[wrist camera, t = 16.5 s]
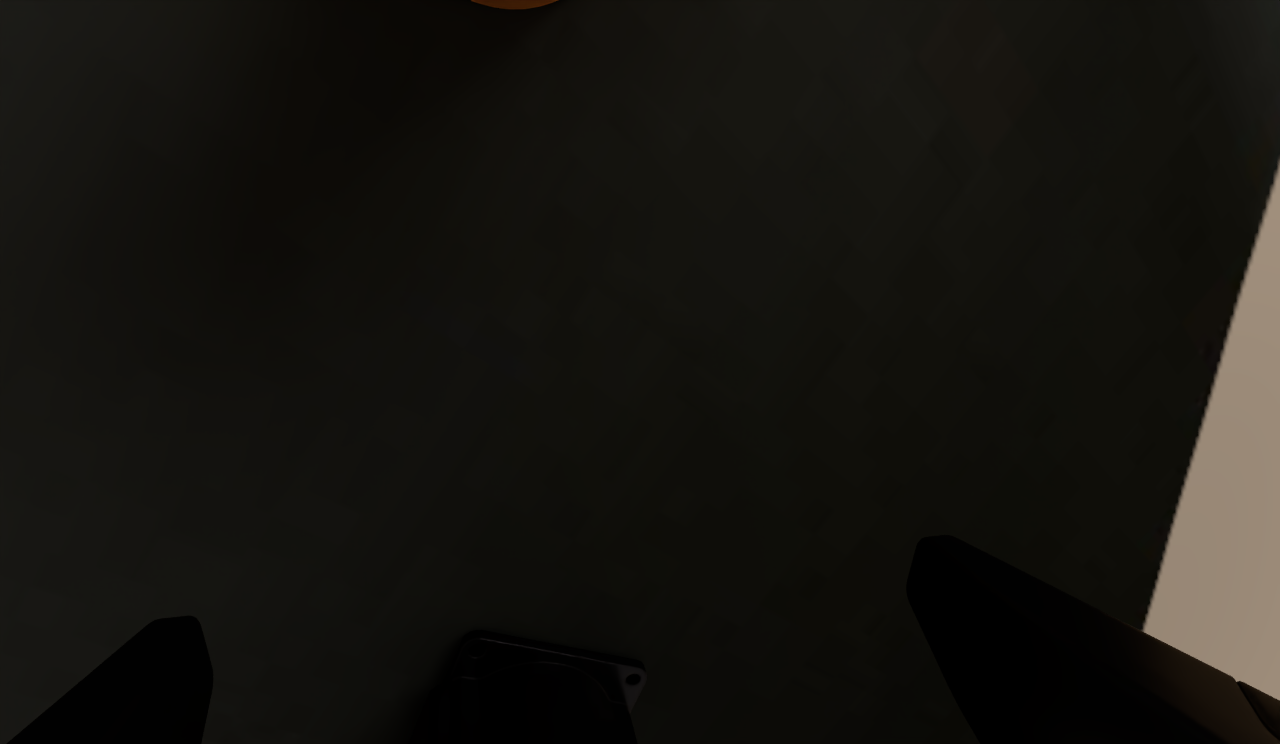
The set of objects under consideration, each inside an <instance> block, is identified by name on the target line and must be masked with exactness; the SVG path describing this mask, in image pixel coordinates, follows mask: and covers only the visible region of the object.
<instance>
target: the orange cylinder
mask: <svg viewBox="0 0 1280 744" xmlns="http://www.w3.org/2000/svg"><path fill="white" fill-rule="evenodd" d="M471 1H474V2H476V3H479V4H483V5H486V6H490V7H495V8H502V9H528V8H534V7H540V6H543V5H546V4H550V3H553V2H555V1H557V0H471Z"/></svg>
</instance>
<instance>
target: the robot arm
mask: <svg viewBox="0 0 1280 744" xmlns="http://www.w3.org/2000/svg"><path fill="white" fill-rule="evenodd" d="M906 590H907V596H908V600H909V602H910V605H911V607H912V609H913V611H914V613H915V616H916V618H917V620H918V622H919V624H920V626H921V628H922V631H923V633H924V635H925V637H926V639H927V641H928V643H929V646H930V648H931V650H932V652H933V654H934V656H935V658H936V661H937V663H938V665H939V667H940V669H941V671H942V673H943V676H944V678H945V680H946V682H947V684H948V686H949V688H950V690H951V692H952V694H953V696H954V698H955V700H956V702H957V704H958V706H959V707H960V709H961V711H962V713H963V715H964V716H965V718H966V720H967V722H968V723H969V725H970V727H971V729H972V730H973V732H974V734H975V735H976V737H977V739H978V740H979V742H980V744H1280V701H1279V700H1277V699H1275V698H1273V697H1271V696H1269V695H1267V694H1265V693H1263V692H1261V691H1260V690H1257V689H1256V688H1254V687H1252V686H1250V685H1247V684H1246V683H1244V682H1241V681H1238V682H1236V681H1235V679H1234V678H1233V677H1231V676H1229V675H1227V674H1226V673H1223V672H1221V671H1220V670H1218V669H1215V668H1214V667H1212V666H1210V665H1208V664H1206V663H1204V662H1202V661H1200V660H1198V659H1196V658H1194V657H1192V656H1190V655H1188V654H1186V653H1184V652H1181V651H1180V650H1178V649H1176V648H1174V647H1172V646H1170V645H1168V644H1166V643H1164V642H1162V641H1160V640H1158V639H1156V638H1154V637H1152V636H1150V635H1148V634H1146V633H1144V632H1142V631H1140V630H1138V629H1136V628H1134V627H1132V626H1130V625H1128V624H1126V623H1124V622H1122V621H1120V620H1118V619H1116V618H1114V617H1112V616H1110V615H1108V614H1106V613H1104V612H1102V611H1100V610H1098V609H1096V608H1094V607H1092V606H1091V605H1089V604H1087V603H1085V602H1083V601H1081V600H1079V599H1077V598H1075V597H1073V596H1071V595H1069V594H1067V593H1065V592H1063V591H1061V590H1059V589H1057V588H1055V587H1053V586H1051V585H1049V584H1047V583H1045V582H1043V581H1041V580H1039V579H1037V578H1035V577H1033V576H1031V575H1029V574H1027V573H1025V572H1023V571H1021V570H1019V569H1017V568H1015V567H1013V566H1011V565H1009V564H1007V563H1005V562H1003V561H1001V560H999V559H997V558H995V557H993V556H991V555H989V554H987V553H985V552H983V551H981V550H979V549H977V548H975V547H973V546H971V545H969V544H967V543H965V542H964V541H962V540H960V539H958V538H956V537H953V536H950V535H940V536H930V537H924V538H922V539H921V540H920V541H919V542H918V544H917V546H916V550H915V553H914V557H913V561H912V565H911V568H910V572H909V576H908V579H907V587H906ZM475 645H481V646H483V647H481V648H479V649H473V648H471V647H472V646H475ZM631 674H635V675H634V676H632V677H628V676H629V675H631ZM646 681H647V674H646V670H645V667H644V665H643V663H642V662H641V661H638V660H635V659H629V658H624V657H619V656H614V655H609V654H603V653H598V652H593V651H588V650H583V649H577V648H572V647H567V646H562V645H557V644H551V643H546V642H541V641H536V640H531V639H525V638H520V637H515V636H510V635H504V634H499V633H494V632H489V631H484V630H475V631H471V632H469V633H468V634H466V635H465V636H464V637H463V639H462V640H461V643H460V645H459V648H458V650H457V652H456V655H455V657H454V659H453V662H452V664H451V666H450V669H449V671H448V674H447V676H446V678H445V681H444V683H443V685H442V686H441V685H437V686H436V687H435V688H433V689H432V690H431V691H430V692H429V694H428V697H427V699H426V702H425V704H424V706H423V709H422V711H421V714H420V716H419V718H418V721H417V723H416V726H415V728H414V730H413V733H412V735H411V738H410V740H409V742H408V744H637V740H636V736H635V733H634V729H633V725H632V721H631V718H630V712H631V711H632V709H633V707H634V705H635V703H636V701H637V699H638V697H639V695H640V693H641V691H642V689H643V687H644V685H645V683H646ZM212 688H213V669H212V665H211V661H210V657H209V654H208V650H207V646H206V642H205V639H204V635H203V631H202V628H201V625H200V623H199V621H198V620H197V618H195V617H193V616H181V617H172V618H162V619H158V620H154V621H152V622H151V623H149V624H148V625H147V626H145V627H144V628H143V629H142V630H141V631H139V632H138V633H137V634H136V635H135V636H134V637H132V638H131V639H130V640H129V641H128V642H126V643H125V644H124V645H123V646H122V647H120V648H119V649H118V650H117V651H116V652H115V653H113V654H112V655H111V656H110V657H109V658H107V659H106V660H105V661H104V662H103V663H102V664H100V665H99V666H98V667H97V668H96V669H94V670H93V671H92V672H91V673H90V674H89V675H87V676H86V677H85V678H84V679H83V680H81V681H80V682H79V683H78V684H77V685H75V686H74V687H73V688H72V689H71V690H70V691H68V692H67V693H66V694H65V695H64V696H62V697H61V698H60V699H59V700H58V701H57V702H55V703H54V704H53V705H52V706H51V707H49V708H48V709H47V710H46V711H45V712H44V713H42V714H41V715H40V716H39V717H38V718H36V719H35V720H34V721H33V722H32V723H30V724H29V725H28V726H27V727H26V728H25V729H23V730H22V731H21V732H20V733H19V734H17V735H16V736H15V737H14V738H13V739H12V740H10V741H9V742H8V743H7V744H201V742H202V737H203V732H204V727H205V723H206V718H207V713H208V708H209V703H210V698H211V694H212Z"/></svg>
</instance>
